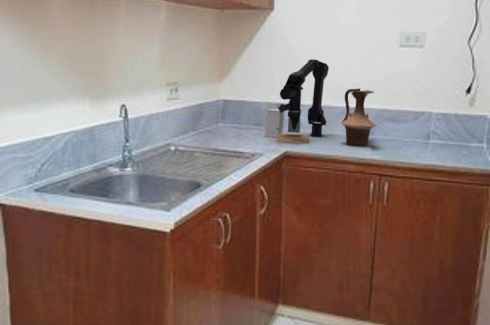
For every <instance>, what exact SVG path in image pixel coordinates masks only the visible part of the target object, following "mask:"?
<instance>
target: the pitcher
mask: <svg viewBox="0 0 490 325" xmlns="http://www.w3.org/2000/svg"><path fill="white" fill-rule="evenodd" d="M350 94H351V95H352V97H353V98H354V99H355V107H354V111H352V112H353V114H352V115H351V116H350V117H349V113H350V103H349V95H350ZM369 94H375V91H374V90H361V88H350V89H347V90H346V91H345V93H344V102H345V107H346V109H345V111H346V113H345V117H344V118H343V120H342V121H341V122H340V124H341V125H342V126H344V129H345V139H346V140H345V143H346V145H349V146H358V147H359V146H361V147H364V146H365V147H366V146H368V145H369V138H370V133H371V130H372V128H374V127H376V126H377V125H376V124H375V123H373V121H371V120H370V119H369V117H368V118H367V116H366V115H365V113H366V112H365V100H366V98H367V96H368V95H369Z"/></svg>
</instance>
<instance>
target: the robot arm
mask: <svg viewBox="0 0 490 325" xmlns="http://www.w3.org/2000/svg"><path fill="white" fill-rule="evenodd" d="M329 70H330V68H329V65H328V64H327V63H325V62H322V61H320V60H318V59H309V60H308V61H307V62H306V63H305V64H304V65H303V66H302V67H301V68H300V69H299V70H297V71H294V72H292V73H290V74H289V75H288V77H287V80H286V82H285V85H283V88H282V89H281V90H280V91H279V96H280V98H281V99H282V100H288V103H285V104H284V103H281V104H280V105H278V110H279V111H280V113H281V112H283V111H284V112H286V111H288V112H287V117H288V119H289V118H290V119H291V122H292V128H293V130H295V128H296V126H297V123H298V121H299V119H300V120H301V114H302V109H301V106H302V105H301V104H302V90H304V87H303V85H304V83H305V81H306V78H307V76H309V75H310V73H312V76H313V78H314V82H313V83H314V84H313V95H312V104H311V107H310V108H308V110H307V123H308V125H311V132H310V137H311V136H312V137H323V126H326V125H327V120H326V117H325V115H324V113H325V112H324V109H323V106H322V102H323V92H324V84H325V81H324V80H325V79H326V78H327V77H328V75H329V74H328V73H329Z"/></svg>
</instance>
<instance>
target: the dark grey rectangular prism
mask: <svg viewBox="0 0 490 325" xmlns="http://www.w3.org/2000/svg"><path fill="white" fill-rule="evenodd" d="M287 120H288V122H287V123H288V124H287V125H288V126H287V133H293V134H301V118H300V119H299V121H298V123H297V126H296V128H295V130H293V128H292V122H291V119H290V118H289V117H288V119H287Z"/></svg>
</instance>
